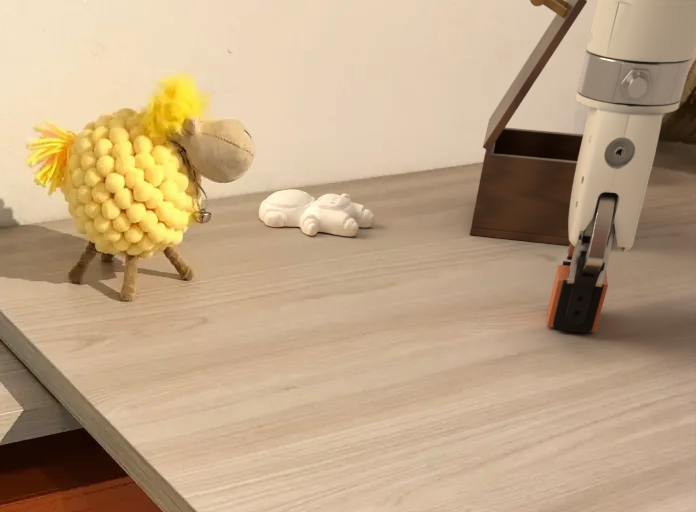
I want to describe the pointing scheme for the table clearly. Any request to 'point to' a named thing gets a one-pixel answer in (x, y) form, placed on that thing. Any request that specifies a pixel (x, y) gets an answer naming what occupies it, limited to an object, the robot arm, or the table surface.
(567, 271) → the block
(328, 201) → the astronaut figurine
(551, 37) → the lid
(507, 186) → the chest
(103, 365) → the table surface
